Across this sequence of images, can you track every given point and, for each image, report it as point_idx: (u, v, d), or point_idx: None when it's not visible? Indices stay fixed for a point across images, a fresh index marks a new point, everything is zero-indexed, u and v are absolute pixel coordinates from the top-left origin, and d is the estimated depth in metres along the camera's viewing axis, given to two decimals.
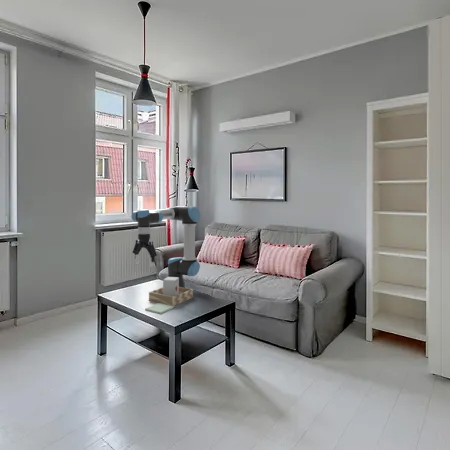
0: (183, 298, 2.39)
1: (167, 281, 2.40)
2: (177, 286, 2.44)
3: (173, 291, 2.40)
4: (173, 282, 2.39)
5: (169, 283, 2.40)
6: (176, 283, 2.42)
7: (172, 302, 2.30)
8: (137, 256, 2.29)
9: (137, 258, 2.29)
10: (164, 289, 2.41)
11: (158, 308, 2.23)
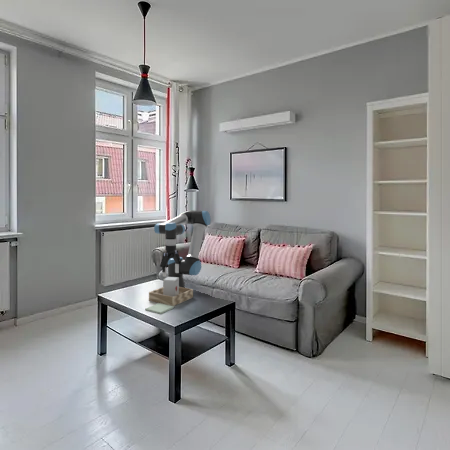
0: (183, 298, 2.39)
1: (167, 281, 2.40)
2: (177, 286, 2.44)
3: (173, 291, 2.40)
4: (173, 282, 2.39)
5: (169, 283, 2.40)
6: (176, 283, 2.42)
7: (172, 302, 2.30)
8: (176, 265, 2.48)
9: (175, 267, 2.49)
10: (164, 289, 2.41)
11: (158, 308, 2.23)
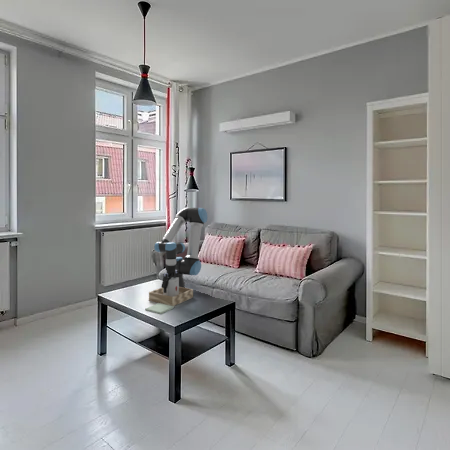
0: (183, 298, 2.39)
1: None
2: (177, 286, 2.44)
3: (173, 291, 2.40)
4: (173, 282, 2.39)
5: (169, 283, 2.40)
6: (176, 283, 2.42)
7: (172, 302, 2.30)
8: None
9: None
10: None
11: (158, 308, 2.23)
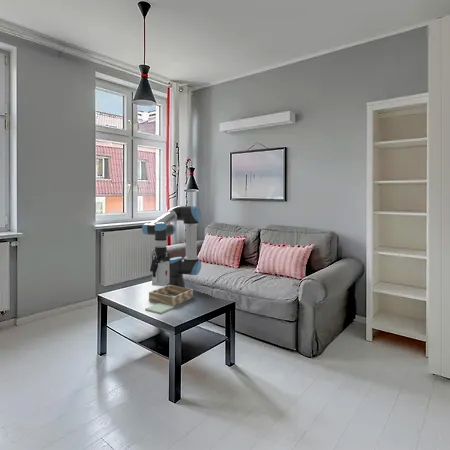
0: (183, 298, 2.39)
1: None
2: (167, 270, 2.25)
3: (163, 275, 2.20)
4: (163, 265, 2.19)
5: (158, 266, 2.20)
6: (166, 267, 2.22)
7: (172, 302, 2.30)
8: None
9: None
10: None
11: (158, 308, 2.23)
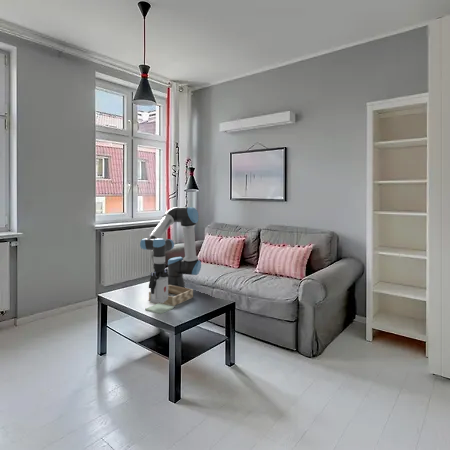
0: (183, 298, 2.39)
1: None
2: (166, 286, 2.23)
3: (161, 292, 2.18)
4: (161, 281, 2.18)
5: (157, 283, 2.18)
6: (165, 283, 2.20)
7: (172, 302, 2.30)
8: None
9: None
10: None
11: (158, 308, 2.23)
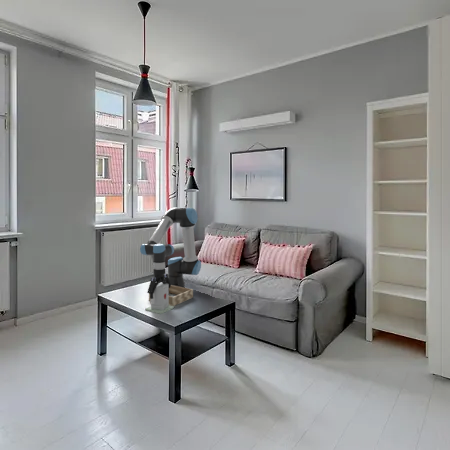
0: (183, 298, 2.39)
1: None
2: (166, 293, 2.24)
3: (161, 299, 2.19)
4: (162, 289, 2.18)
5: (157, 290, 2.19)
6: (165, 290, 2.21)
7: (172, 302, 2.30)
8: None
9: None
10: None
11: None
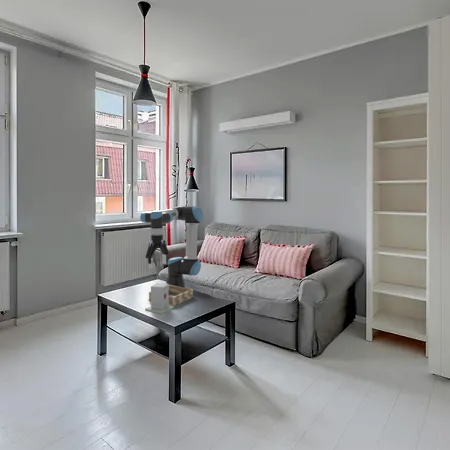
0: (183, 298, 2.39)
1: (155, 288, 2.19)
2: (166, 293, 2.24)
3: (161, 299, 2.19)
4: (162, 289, 2.18)
5: (157, 290, 2.19)
6: (165, 290, 2.21)
7: (172, 302, 2.30)
8: (163, 256, 2.33)
9: (163, 258, 2.34)
10: (152, 297, 2.20)
11: None
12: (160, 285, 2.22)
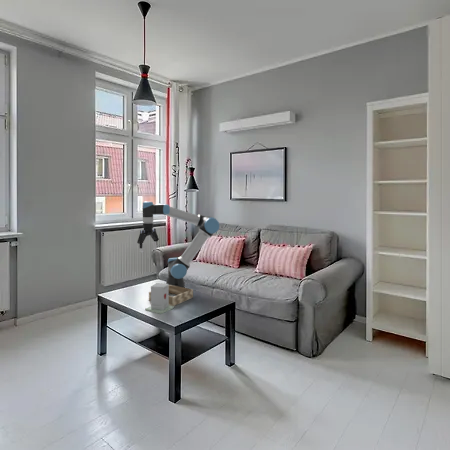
0: (183, 298, 2.39)
1: (155, 288, 2.19)
2: (166, 293, 2.24)
3: (161, 299, 2.19)
4: (162, 289, 2.18)
5: (157, 290, 2.19)
6: (165, 290, 2.21)
7: (172, 302, 2.30)
8: (154, 243, 2.60)
9: (153, 244, 2.61)
10: (152, 297, 2.20)
11: None
12: (160, 285, 2.22)
